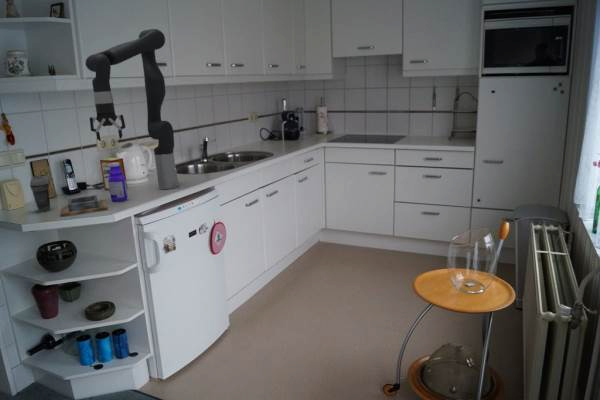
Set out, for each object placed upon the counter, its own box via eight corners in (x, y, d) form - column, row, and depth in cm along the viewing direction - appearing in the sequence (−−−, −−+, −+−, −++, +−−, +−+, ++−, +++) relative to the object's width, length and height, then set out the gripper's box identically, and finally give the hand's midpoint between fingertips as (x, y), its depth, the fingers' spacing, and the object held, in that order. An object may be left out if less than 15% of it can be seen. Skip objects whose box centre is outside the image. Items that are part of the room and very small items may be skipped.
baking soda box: (104, 190, 244) (99, 159, 240) (115, 187, 249) (110, 156, 245) (116, 191, 239) (111, 159, 235) (127, 188, 244) (122, 157, 240)
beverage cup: (44, 208, 213) (35, 163, 208) (57, 208, 211) (49, 163, 206) (31, 212, 207) (21, 166, 202) (44, 213, 204) (35, 166, 199)
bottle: (129, 198, 222) (124, 161, 217) (126, 201, 216) (120, 163, 212) (114, 199, 222) (108, 162, 217) (109, 202, 216) (103, 164, 212)
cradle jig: (105, 202, 217) (104, 193, 216) (107, 209, 203) (106, 200, 202) (62, 208, 211) (60, 199, 210) (60, 216, 196) (58, 207, 195)
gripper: (120, 101, 214) (126, 137, 218) (86, 103, 209) (92, 140, 213) (122, 101, 207) (127, 138, 211) (86, 104, 202) (92, 142, 206)
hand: (110, 139), depth 212 cm, fingers open, 8 cm apart
